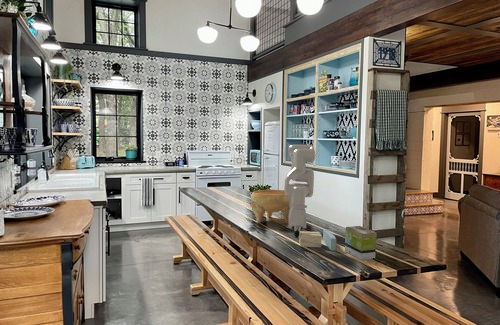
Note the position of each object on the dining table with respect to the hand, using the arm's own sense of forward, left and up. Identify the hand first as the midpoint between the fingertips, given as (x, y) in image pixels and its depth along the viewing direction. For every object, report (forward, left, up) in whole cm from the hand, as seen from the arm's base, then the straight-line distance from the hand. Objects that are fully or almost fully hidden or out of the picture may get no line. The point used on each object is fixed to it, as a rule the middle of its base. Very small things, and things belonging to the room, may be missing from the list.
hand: (296, 237), depth 220 cm
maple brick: (0, +8, -4) cm, 9 cm away
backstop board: (0, +20, -4) cm, 20 cm away
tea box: (+17, +33, -5) cm, 37 cm away
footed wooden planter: (-60, -9, -5) cm, 61 cm away
